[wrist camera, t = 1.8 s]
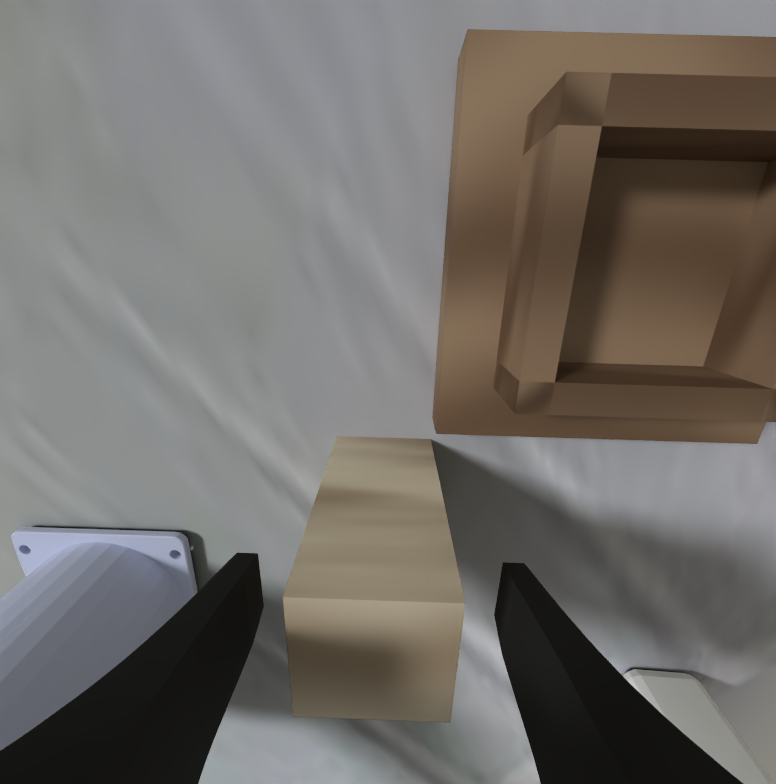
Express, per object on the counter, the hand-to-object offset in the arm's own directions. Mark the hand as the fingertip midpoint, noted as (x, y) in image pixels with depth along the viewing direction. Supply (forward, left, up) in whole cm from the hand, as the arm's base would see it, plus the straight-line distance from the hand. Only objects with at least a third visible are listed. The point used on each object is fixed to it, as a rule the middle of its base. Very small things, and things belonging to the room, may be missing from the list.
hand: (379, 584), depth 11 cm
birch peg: (0, 0, -6) cm, 6 cm away
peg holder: (+9, -8, -6) cm, 13 cm away
